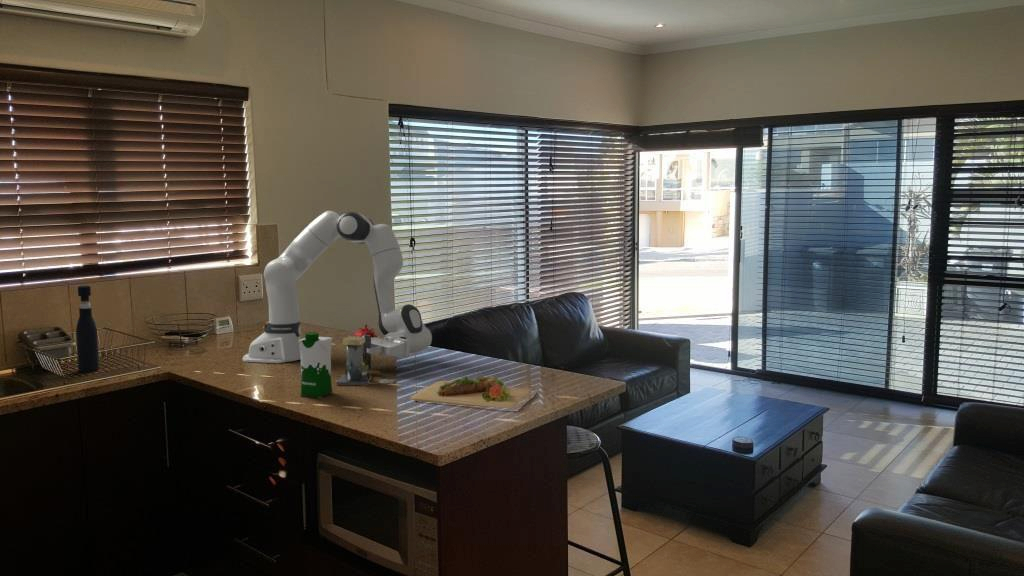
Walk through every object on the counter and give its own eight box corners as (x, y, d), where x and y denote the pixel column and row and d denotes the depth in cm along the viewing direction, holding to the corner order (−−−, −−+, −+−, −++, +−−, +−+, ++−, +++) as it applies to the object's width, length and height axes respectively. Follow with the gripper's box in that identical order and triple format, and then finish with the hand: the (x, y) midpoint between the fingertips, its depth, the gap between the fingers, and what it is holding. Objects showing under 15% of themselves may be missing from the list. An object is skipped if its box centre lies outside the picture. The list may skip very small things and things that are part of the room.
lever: (358, 378, 250) (358, 340, 249) (343, 377, 251) (342, 339, 250) (376, 368, 266) (375, 331, 264) (361, 367, 267) (361, 331, 265)
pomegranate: (348, 347, 310) (348, 325, 309) (360, 343, 319) (360, 322, 318) (370, 349, 307) (370, 327, 306) (381, 345, 316) (381, 323, 315)
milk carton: (296, 396, 235) (295, 333, 232) (313, 389, 243) (312, 329, 241) (320, 399, 232) (319, 335, 230) (336, 392, 240) (335, 330, 238)
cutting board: (537, 395, 243) (538, 372, 242) (516, 414, 221) (516, 390, 220) (438, 385, 254) (438, 363, 253) (408, 403, 231) (408, 379, 230)
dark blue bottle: (103, 369, 266) (98, 286, 262) (86, 373, 260) (81, 288, 257) (91, 367, 269) (86, 284, 265) (74, 371, 263) (69, 286, 259)
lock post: (336, 385, 249) (336, 347, 247) (347, 372, 267) (346, 336, 265) (392, 385, 249) (392, 347, 248) (398, 372, 268) (398, 337, 266)
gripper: (376, 332, 280) (345, 337, 269) (412, 339, 266) (380, 345, 256) (376, 348, 280) (345, 354, 270) (412, 357, 267) (381, 363, 257)
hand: (363, 350), depth 263 cm, fingers open, 4 cm apart
